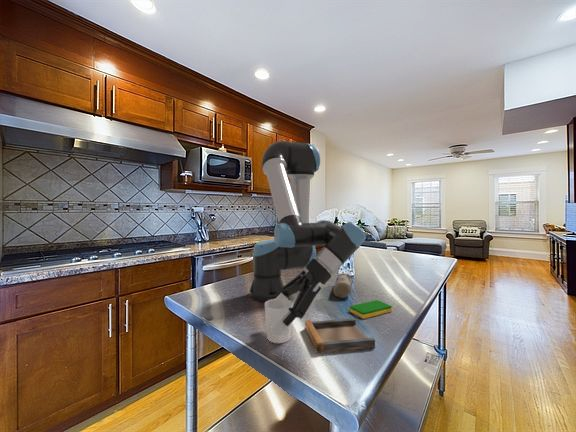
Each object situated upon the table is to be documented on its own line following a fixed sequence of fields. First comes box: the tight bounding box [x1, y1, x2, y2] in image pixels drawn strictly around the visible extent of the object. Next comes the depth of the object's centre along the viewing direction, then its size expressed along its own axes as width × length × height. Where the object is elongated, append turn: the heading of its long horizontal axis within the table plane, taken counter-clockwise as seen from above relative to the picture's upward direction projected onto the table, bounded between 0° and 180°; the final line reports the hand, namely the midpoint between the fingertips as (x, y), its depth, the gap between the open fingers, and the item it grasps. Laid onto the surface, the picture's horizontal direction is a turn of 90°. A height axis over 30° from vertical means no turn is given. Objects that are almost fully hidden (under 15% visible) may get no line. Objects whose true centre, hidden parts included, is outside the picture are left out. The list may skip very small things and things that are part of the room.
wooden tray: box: [304, 317, 376, 354], centre depth 74 cm, size 16×13×3 cm
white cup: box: [264, 299, 293, 344], centre depth 74 cm, size 8×8×10 cm
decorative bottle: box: [332, 272, 354, 299], centre depth 118 cm, size 26×8×7 cm, turn 163°
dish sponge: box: [349, 299, 393, 320], centre depth 93 cm, size 7×14×2 cm, turn 117°
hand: (272, 320), depth 73 cm, fingers open, 13 cm apart
